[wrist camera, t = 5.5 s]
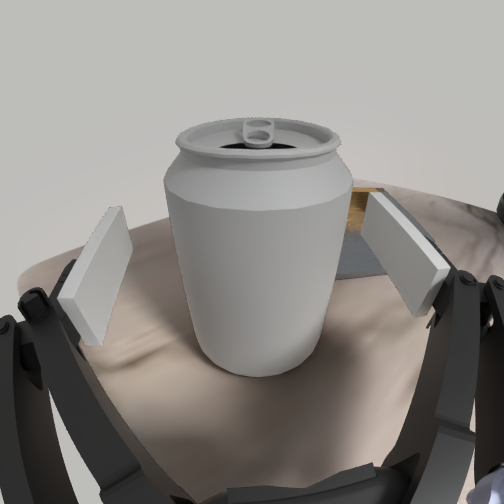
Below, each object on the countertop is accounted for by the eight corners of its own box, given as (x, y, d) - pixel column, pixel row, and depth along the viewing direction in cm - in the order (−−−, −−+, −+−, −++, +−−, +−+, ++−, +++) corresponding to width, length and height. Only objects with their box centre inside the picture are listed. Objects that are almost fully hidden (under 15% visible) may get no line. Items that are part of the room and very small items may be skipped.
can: (188, 380, 14) (122, 160, 7) (206, 288, 20) (186, 114, 13) (325, 383, 14) (392, 161, 7) (311, 289, 20) (332, 115, 13)
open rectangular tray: (377, 212, 29) (382, 188, 28) (423, 269, 21) (435, 241, 20) (272, 216, 28) (273, 188, 27) (293, 283, 20) (296, 250, 19)
